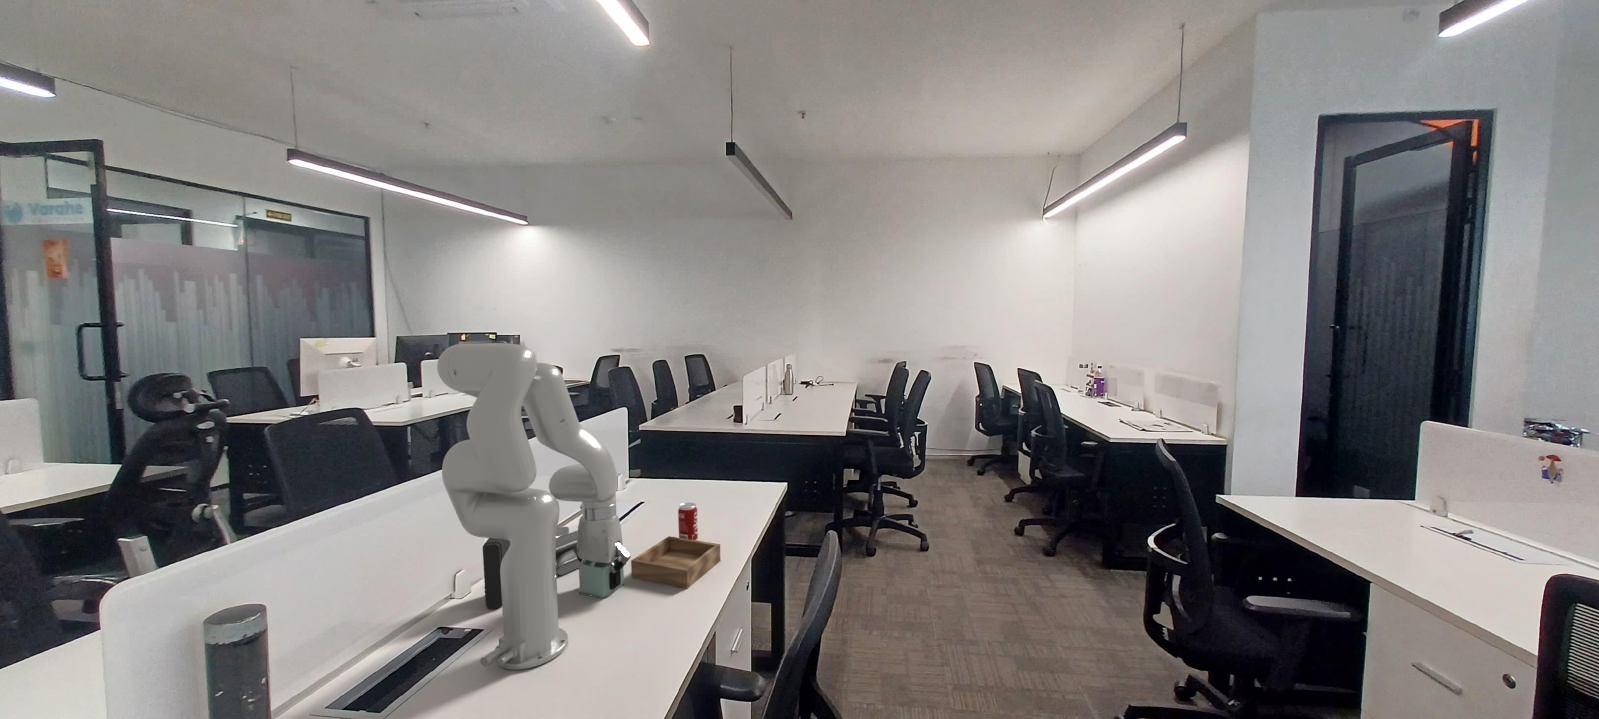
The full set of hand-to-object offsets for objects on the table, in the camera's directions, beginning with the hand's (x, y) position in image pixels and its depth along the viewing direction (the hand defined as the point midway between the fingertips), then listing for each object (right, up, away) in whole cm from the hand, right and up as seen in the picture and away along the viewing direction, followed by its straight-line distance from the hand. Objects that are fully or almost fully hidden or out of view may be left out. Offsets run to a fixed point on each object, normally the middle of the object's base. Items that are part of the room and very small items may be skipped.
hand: (602, 583), depth 129 cm
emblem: (-18, -1, +20) cm, 27 cm away
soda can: (+16, 0, +24) cm, 29 cm away
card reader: (-22, -2, -4) cm, 23 cm away
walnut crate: (+16, 0, +10) cm, 19 cm away
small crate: (0, -1, 0) cm, 1 cm away
